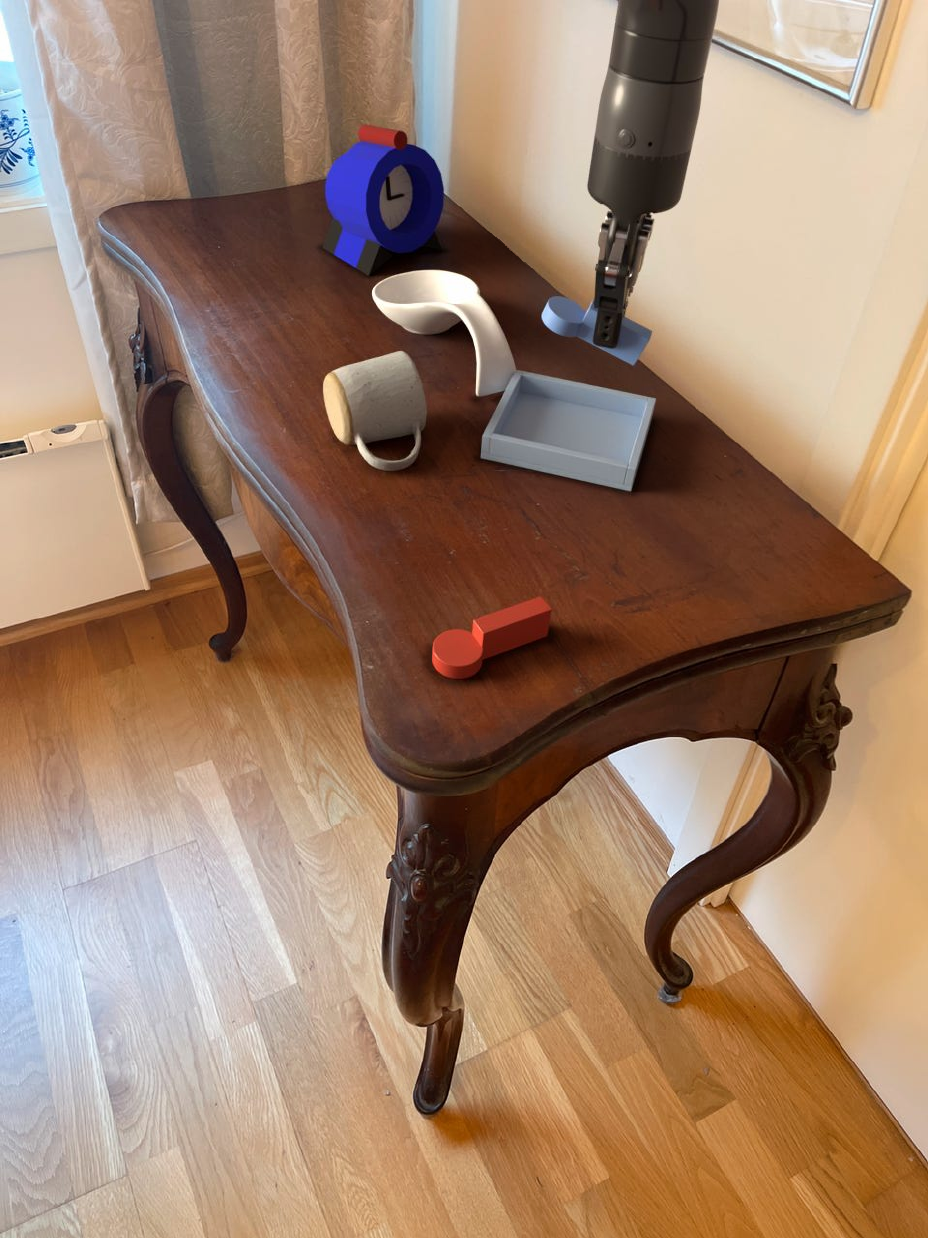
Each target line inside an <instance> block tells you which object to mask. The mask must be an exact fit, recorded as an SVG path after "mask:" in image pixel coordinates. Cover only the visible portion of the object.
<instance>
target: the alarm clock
mask: <svg viewBox="0 0 928 1238" xmlns="http://www.w3.org/2000/svg"><path fill="white" fill-rule="evenodd" d="M357 133H358V134H357V135H358V136H357V137H358V140H359V142H357V143H355V144H353V145H352V146H351V147H350V148H349V150H347V151H346V152H345V153H343V154H341V155H340V156H339V157H337V159H336V160H335V161H334V162H333V163H332V165H331V167H330V169H329V171H328V172H327V175H326V181H325V186H324V189H325V191H324V192H325V195H324V196H325V201H326V205H327V208H328V210H329V213H330V214H331V216H332V219H331V222H330V225H329V228H328V231H327V233H326V236H325V240H324V242H323V245H322V249H323V250H326V251H327V252H329V253H330V254H332V255H334V256H335V257H337V258H339V259H340V260H342V261H344V262H345V263H347V264H349V265H350V266H351V267H353V268H355V269H356V270H358V271H360V272H362V273H363V274H364V275H366V276H368V277H369V276H370V275H371V274H373V273H374V272H375V271H376V270H377V269H378V268H379V267H380V266H382V265H383V264H384V263H386V262H387V261H388V260H389V259H390V258H391V257H392V256H393V255H392V254H391V253H390V252H394V253H397V254H404V253H412V252H414V251H415V250H417V249H419V248H420V247H427V248H432V249H436V250H440V251H444V249H443V246H442V244H441V242H440V240H439V237H438V235H437V232H436V229H437V228H438V227H437V226H438V225H439V223H440V220H441V217H442V212H443V208H444V201H445V199H444V198H445V197H444V196H445V187H444V182H443V181H444V180H443V176H442V173H441V170H440V168H439V166H438V164H437V162H436V160H435V159H434V157H432V155H430V153H429V152H428V151H427V150H426V149H424V148H422V147H420V146H417V145H415V144H411V143H408V135H407V133H406V132H405V131H403V130H399V129H392V128H387V127H381V126H378V125H377V126H375V125H369V124H362V125H361V126H360V127H359V129H358V131H357ZM389 251H390V252H389Z"/></svg>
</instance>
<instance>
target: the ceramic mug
mask: <svg viewBox="0 0 928 1238" xmlns="http://www.w3.org/2000/svg"><path fill="white" fill-rule="evenodd" d="M322 383H323V384H322V395H323V401H324V406H325V410H326V414H327V418H328V421H329V424H330V426H331V429H332V431H333V433H334V435H335V436H336V438H337V439H338V440H339V441H340V442H341V443H343V444H344V445H347V446H352V445H353V446H357V449H358V452H359V454H360V455H361V456H362V458H363V459H364V460H365V461H366V462H367V463H368V464H369V465H370V466H372V467H373V468H375V469H378V470H381V471H386V472H395V471H400V470H405V469H406V468H408V467H409V466H411V465H413V463H414V462H415V461H416V459H417V457H418V455H419V452H420V449H421V442H422V436H421V433H422V431H424V429H425V427H426V422H427V411H428V410H427V402H426V396H425V391H424V386H423V382H422V380H421V377H420V375H419V371H418V369H417V367H416V365H415V363H414V361H413V359H412V358H411V357H410V355H409V354H408V353H406V352H405V351H403V350H400V351H399V350H398V351H395V352H391V353H388V354H384V355H381V356H376V357H373V358H370V359H366V360H364V361H363V360H362V361H359V362H356V363H355V362H354V363H351V364H347V365H343V366H341V367H338V368H336V369H334V370H332V371H330V372H329V373H327V374H326V375H325V377H324V380H323V382H322ZM410 435H413V437H414V445H415V446H414V447H413V449H412V450H411V451H410V454H409V455H407V456H406V458H402V459H400V460H390V459H389V460H388V459H383V458H380V457H378V456H376V455H375V454H373V453H372V452H371V451H370V450H369V448H368V447H367V445H366V444H369V443H374V442H378V441H384V440H391V439H396V438H401V437H405V436H410Z"/></svg>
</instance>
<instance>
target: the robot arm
mask: <svg viewBox="0 0 928 1238" xmlns="http://www.w3.org/2000/svg"><path fill="white" fill-rule="evenodd" d="M719 4H720V0H617V8H616V14H615V19H614V20H615V21H614V27H613V32H612V33H613V35H612V41H611V47H610V53H609V54H610V55H609V62H608V66H607V71H606V75H605V79H604V82H603V85H602V88H601V89H602V90H601V93H600V97H599V103H598V111H597V116H596V117H597V118H596V123H595V131H594V136H593V137H594V138H593V143H592V144H593V145H592V151H591V158H590V164H589V171H588V178H587V184H586V185H587V186H586V188H587V192H588V194H589V195H590V197H591V198H592V199H593V200H594V201H595V202H596V203H598V204H600V205H603V206H605V207H607V209H608V211H607V212H606V216H605V221H604V222H602V223H601V224H600V229H599V234H598V241H597V245H598V247H599V252H598V259H597V263H596V264H595V267H594V271H595V278H594V279H595V281H594V284H595V285H594V297H593V300H594V301H593V300H592V301H593V303H594V308H596V309H598V312H597V318H596V323H595V329H594V335H593V343H594V344H595V345H596V346H600V347H605V348H610V349H613V348H615V347H616V346H617V344H618V339H619V334H620V329H621V324H622V320H623V317H626V312H627V308H628V306H629V298H630V297H631V295H632V294H633V292H634V289H635V288H634V286H635V285H636V283H637V280H638V278H639V273H640V272H641V270H642V267H643V265H644V261H645V255H646V250H647V247H648V243H649V242H650V240H651V237H652V234H653V230H654V226H655V218H652V216H653V215H652V214H662V213H664V212H667V211H670V210H671V209H673V208H674V207H676V206H677V205H679V203H680V201H681V198H682V194H683V189H684V187H685V180H686V175H687V171H688V166H689V162H690V159H691V158H690V157H691V154H692V149H693V144H694V140H695V135H696V131H697V126H698V122H699V117H700V111H701V106H702V105H701V104H702V96H703V83H704V78H705V73H706V68H707V64H708V59H709V55H710V50H711V46H712V42H713V41H712V40H713V38H714V37H713V36H714V31H715V28H716V23H717V17H718V12H719ZM596 346H595V347H596Z"/></svg>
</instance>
